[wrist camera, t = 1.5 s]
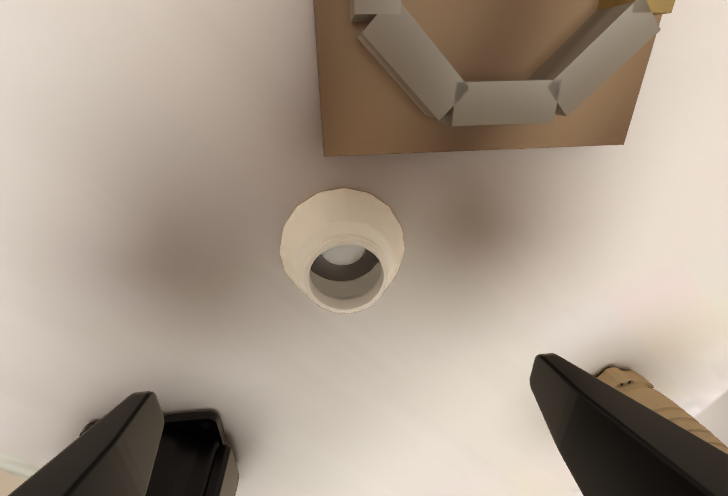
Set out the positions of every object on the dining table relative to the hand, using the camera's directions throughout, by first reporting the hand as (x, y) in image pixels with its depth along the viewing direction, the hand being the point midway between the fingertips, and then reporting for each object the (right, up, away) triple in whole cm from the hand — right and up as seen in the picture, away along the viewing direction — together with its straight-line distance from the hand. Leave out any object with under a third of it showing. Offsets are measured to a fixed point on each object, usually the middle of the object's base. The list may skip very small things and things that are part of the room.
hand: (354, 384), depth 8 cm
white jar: (-1, +4, +7) cm, 8 cm away
